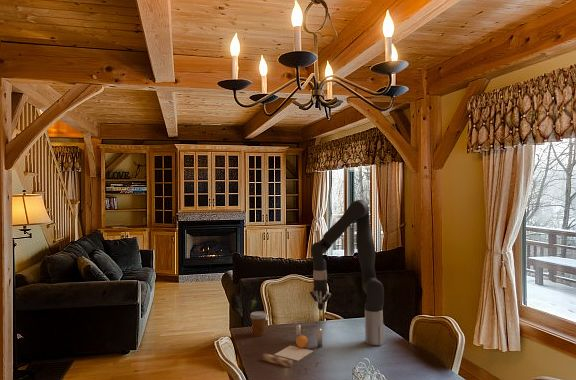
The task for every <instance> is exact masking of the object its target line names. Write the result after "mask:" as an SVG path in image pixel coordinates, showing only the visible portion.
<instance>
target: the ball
mask: <svg viewBox="0 0 576 380" xmlns="http://www.w3.org/2000/svg"><path fill="white" fill-rule="evenodd" d="M308 339H309V338H308V337H307V336H305V335H303V334H301V336H299V337H298V338H297V340H296V339H295V342H296V345H297V347H299V348H303V349H305V348H306V347H307V346H308V344H309V340H308Z"/></svg>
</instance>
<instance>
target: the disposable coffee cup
mask: <svg viewBox="0 0 576 380" xmlns="http://www.w3.org/2000/svg"><path fill="white" fill-rule="evenodd" d="M267 316H268V314H267V313H266V311H260V310H258V311H253V312H251V313H250V315H249V318H250V321H251V328H252V335H253V336H254V337H258V336H259V337H263V336H265V334H266V333H265V332H266V324H267V323H266V322H267Z"/></svg>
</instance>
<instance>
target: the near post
mask: <svg viewBox="0 0 576 380" xmlns="http://www.w3.org/2000/svg"><path fill="white" fill-rule="evenodd" d="M316 344H317V345H316V347H317V348H318V349H320V348H321V349H322V348H323V328H321V327H319V328H316Z"/></svg>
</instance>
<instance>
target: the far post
mask: <svg viewBox="0 0 576 380" xmlns="http://www.w3.org/2000/svg"><path fill="white" fill-rule="evenodd" d="M301 326H302V325H301V324H300V323H297V324H295V341H296V340H297V338H298V337H299V336H301V335H302V331H301Z"/></svg>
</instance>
